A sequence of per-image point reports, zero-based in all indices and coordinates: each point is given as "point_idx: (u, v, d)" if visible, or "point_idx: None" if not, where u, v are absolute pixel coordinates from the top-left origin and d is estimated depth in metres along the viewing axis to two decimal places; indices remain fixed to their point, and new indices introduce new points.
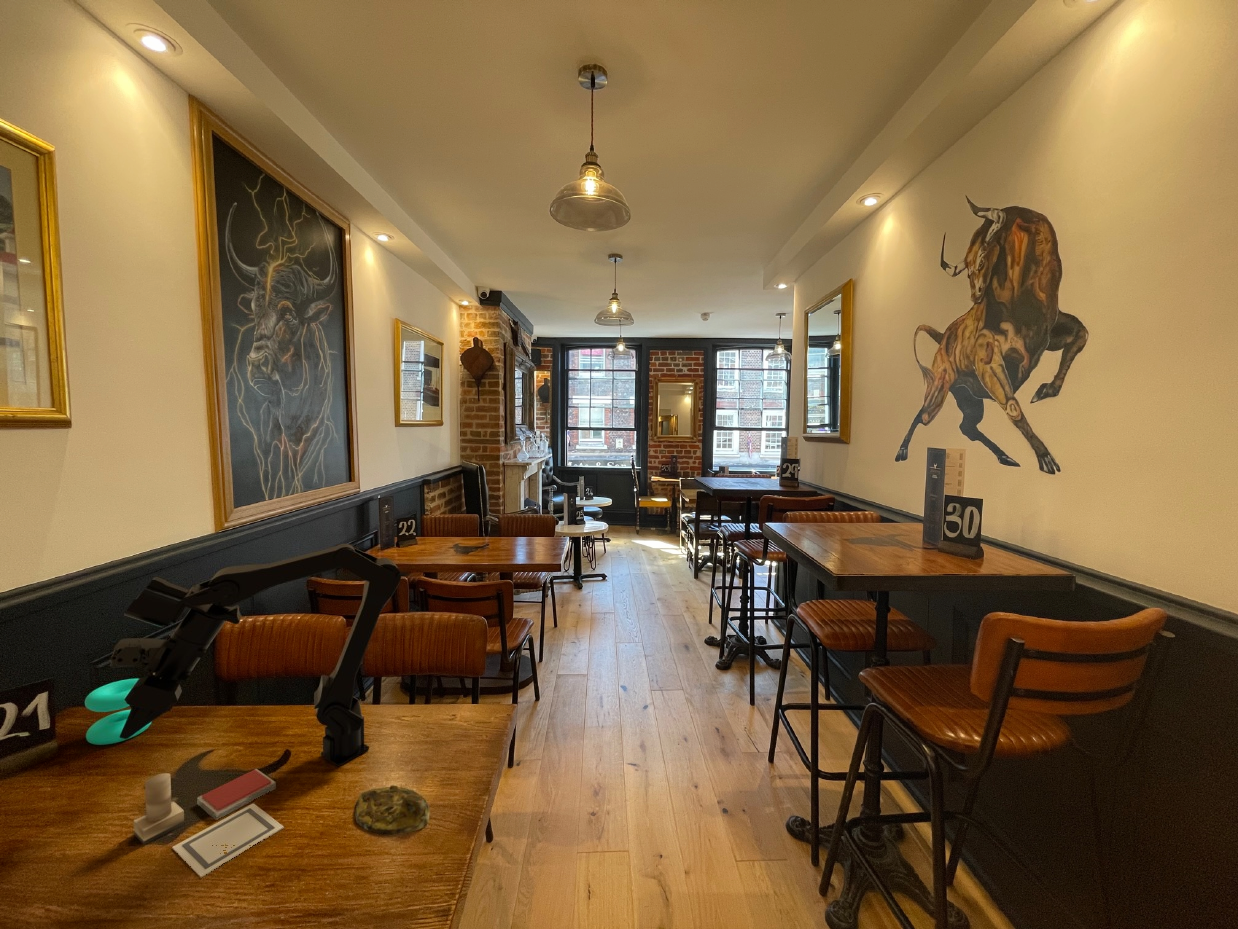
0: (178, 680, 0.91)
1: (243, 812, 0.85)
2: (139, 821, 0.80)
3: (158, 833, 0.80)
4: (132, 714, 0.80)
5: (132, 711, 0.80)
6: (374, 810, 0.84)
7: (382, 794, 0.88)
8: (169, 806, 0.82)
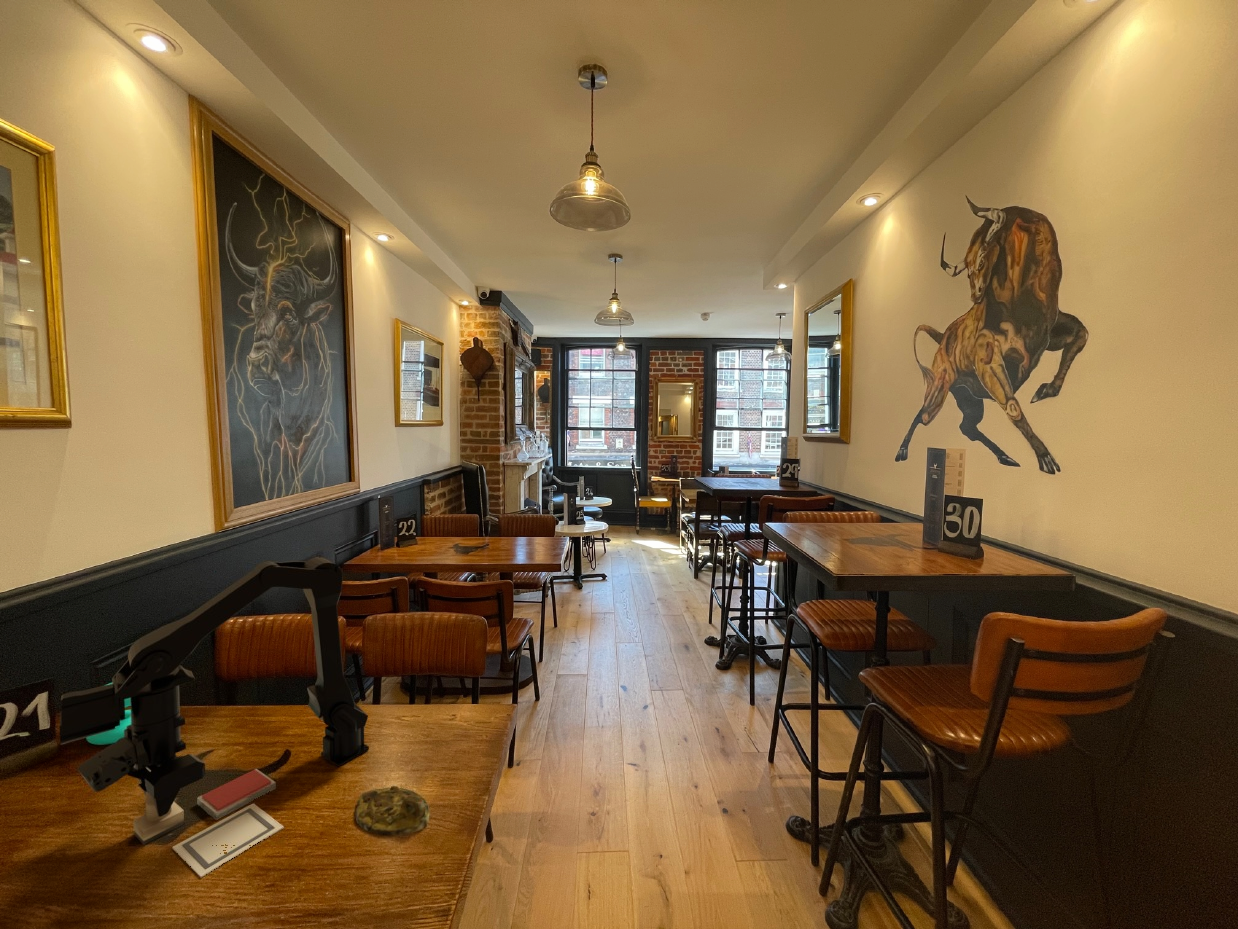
0: None
1: (243, 812, 0.85)
2: (139, 821, 0.80)
3: (158, 833, 0.80)
4: None
5: None
6: (374, 811, 0.84)
7: (382, 795, 0.88)
8: None
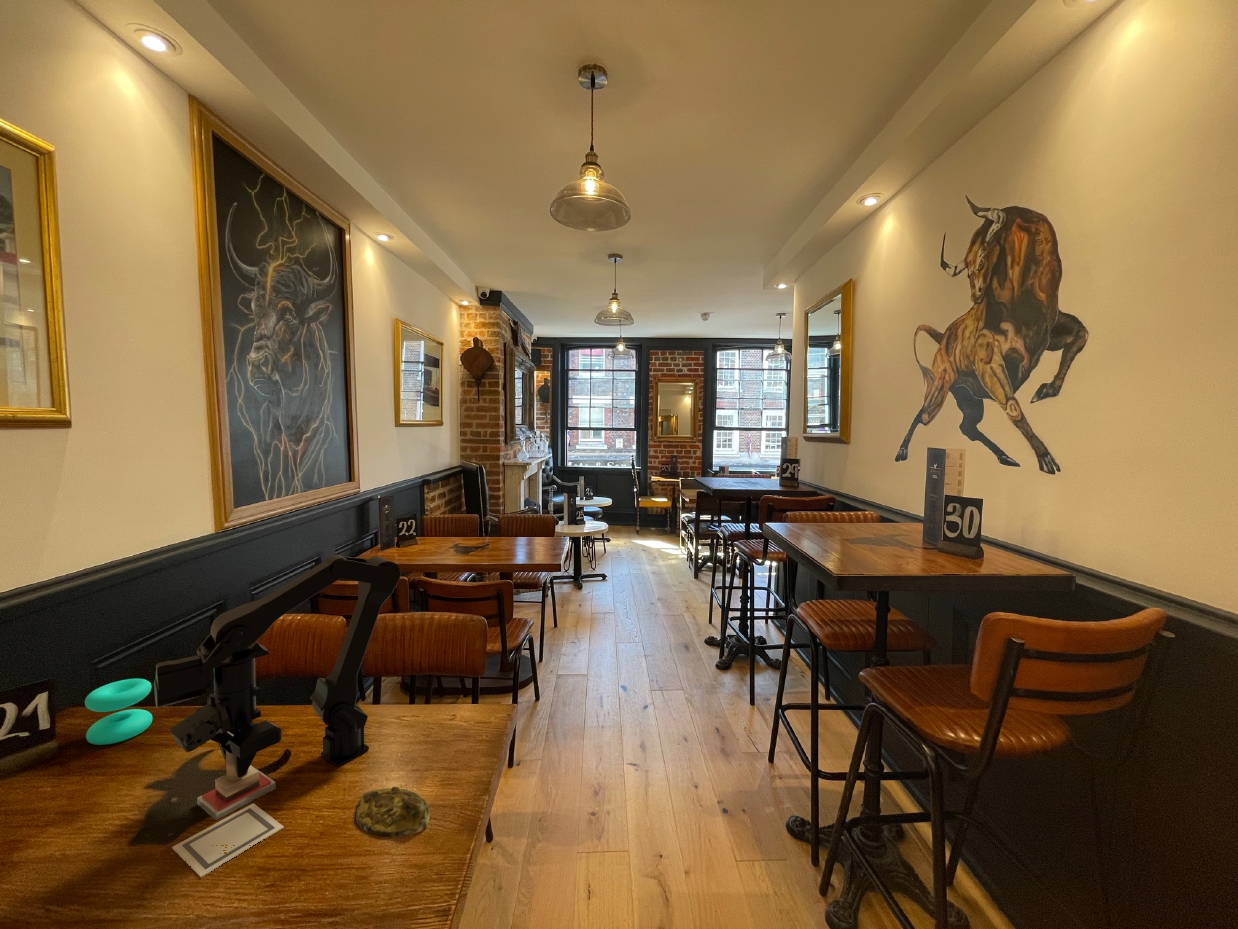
0: None
1: (243, 812, 0.85)
2: (220, 780, 0.88)
3: (238, 791, 0.87)
4: (239, 757, 0.86)
5: None
6: (374, 811, 0.84)
7: (383, 795, 0.88)
8: None
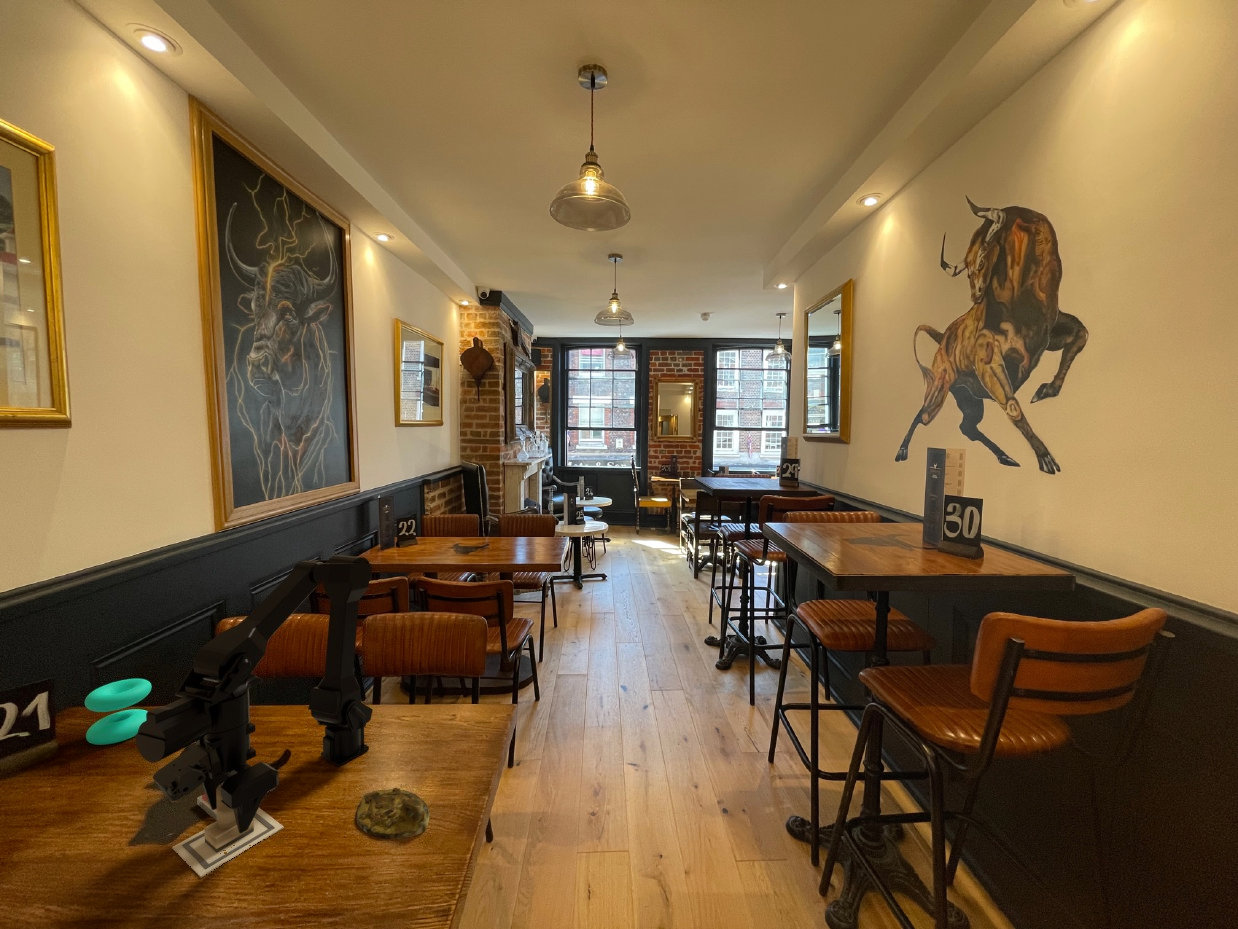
0: None
1: None
2: (210, 828, 0.78)
3: (230, 840, 0.78)
4: (240, 811, 0.76)
5: (239, 809, 0.75)
6: (374, 813, 0.84)
7: (384, 796, 0.88)
8: None
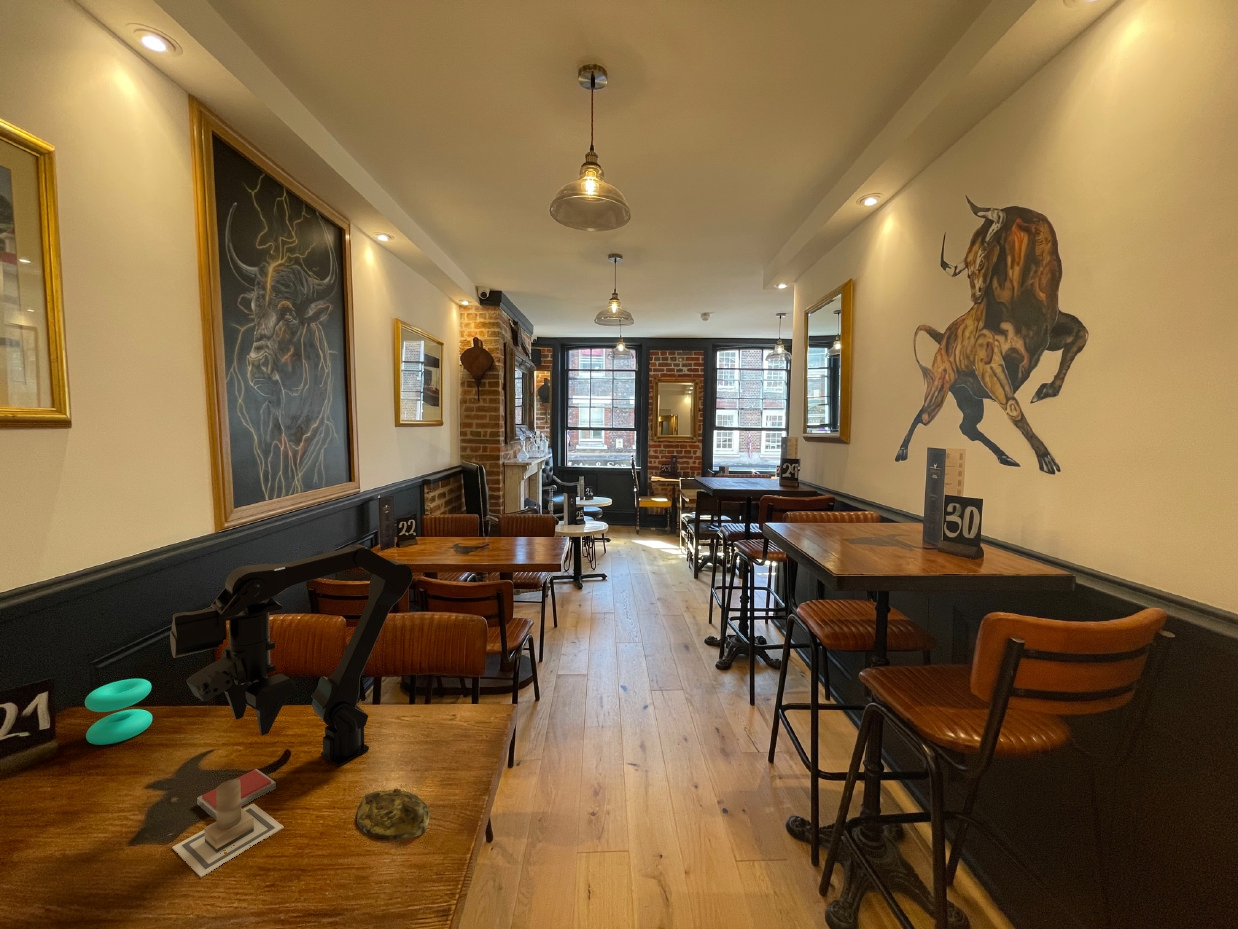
0: None
1: None
2: (210, 828, 0.78)
3: (230, 840, 0.78)
4: (262, 714, 0.86)
5: (261, 712, 0.85)
6: (374, 813, 0.84)
7: (385, 797, 0.87)
8: (239, 813, 0.80)
